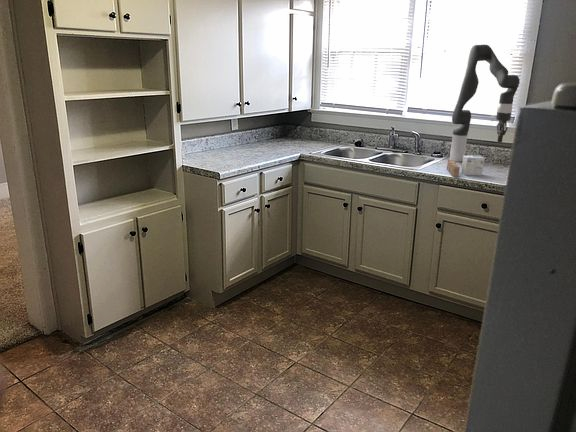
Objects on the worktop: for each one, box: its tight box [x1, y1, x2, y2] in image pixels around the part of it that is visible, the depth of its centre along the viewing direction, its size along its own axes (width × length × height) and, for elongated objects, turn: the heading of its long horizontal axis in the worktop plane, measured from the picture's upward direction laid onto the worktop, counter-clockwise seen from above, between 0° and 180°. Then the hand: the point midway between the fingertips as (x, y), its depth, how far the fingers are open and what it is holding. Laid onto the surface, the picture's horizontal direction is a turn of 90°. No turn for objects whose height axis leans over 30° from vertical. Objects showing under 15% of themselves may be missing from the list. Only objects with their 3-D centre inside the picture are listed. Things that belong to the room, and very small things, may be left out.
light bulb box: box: [460, 155, 485, 176], centre depth 283 cm, size 11×7×11 cm, turn 92°
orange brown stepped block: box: [446, 159, 461, 178], centre depth 285 cm, size 20×3×6 cm, turn 173°
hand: (499, 142), depth 277 cm, fingers closed
